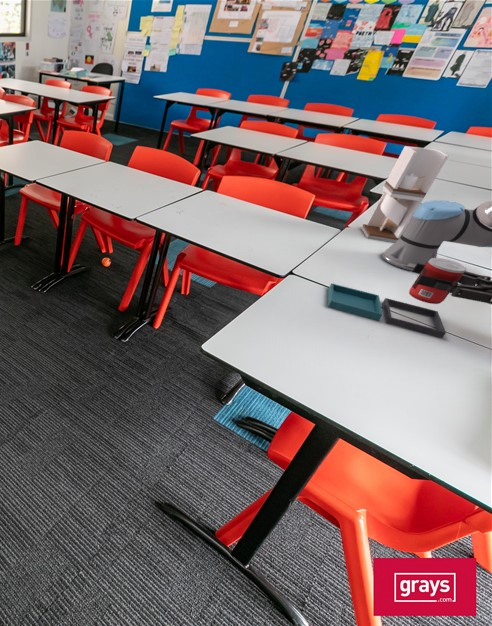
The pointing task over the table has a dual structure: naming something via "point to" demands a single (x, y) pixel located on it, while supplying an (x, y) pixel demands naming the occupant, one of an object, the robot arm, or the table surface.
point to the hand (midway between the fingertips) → (417, 273)
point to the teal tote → (354, 302)
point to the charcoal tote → (415, 327)
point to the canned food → (437, 270)
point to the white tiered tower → (404, 192)
